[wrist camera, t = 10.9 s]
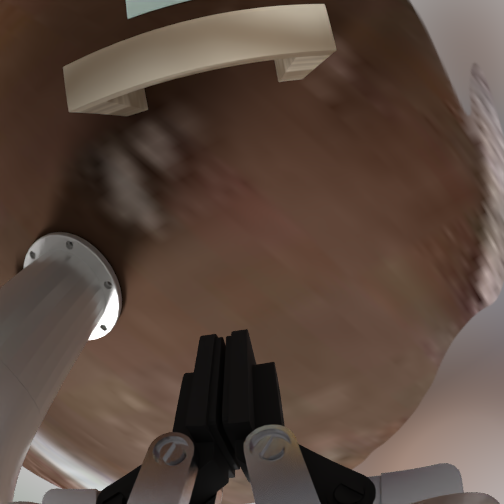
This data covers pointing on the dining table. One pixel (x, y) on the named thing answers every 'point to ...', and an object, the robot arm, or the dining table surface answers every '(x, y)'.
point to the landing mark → (147, 6)
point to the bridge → (198, 54)
